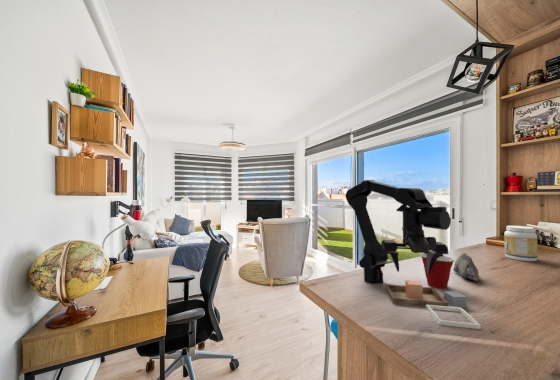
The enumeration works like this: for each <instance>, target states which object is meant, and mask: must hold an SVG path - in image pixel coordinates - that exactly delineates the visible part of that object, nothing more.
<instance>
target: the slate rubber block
mask: <svg viewBox="0 0 560 380" xmlns="http://www.w3.org/2000/svg"><path fill="white" fill-rule="evenodd" d="M443 298H444V299H445V300H446V301H447V302H448V303H449V306H450V307H461V308H467V307H468V306H467V296H466V295H464V294H462V293H461V292H459V291H456V290H451V291H449V290H447V291H446V290H445V291H443Z"/></svg>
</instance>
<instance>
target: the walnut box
mask: <svg viewBox="0 0 560 380" xmlns="http://www.w3.org/2000/svg"><path fill="white" fill-rule="evenodd" d="M384 286H385V287H384V288H385V291H386V293H387V295H388V297H389V299H390V300H391V302H392V304H393V305H405V306H406V305H407V306H414V307H415V306H418V307H425V308H426V304H428V305H439V306H450V305H449V303H448V302H447V301H446V300H445V299H444V296H442V295H441V294H440V293H439V292H438V291H437V290H436V288H433V287H431V286H428V287H426V286H423V300H421V299H410V298H408V297H407V296H406V292H405V284H404V285H401V284H392V283H391V284H390V283H384Z"/></svg>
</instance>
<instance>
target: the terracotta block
mask: <svg viewBox="0 0 560 380" xmlns="http://www.w3.org/2000/svg"><path fill="white" fill-rule="evenodd" d="M404 282H405V284H404V286H405V292H406V296H407V297H408V298H410V299H421V300H423V287H424V286H423V284H422V283H421V282H420V281H419V280H412V279H411V280H410V279H405V281H404Z"/></svg>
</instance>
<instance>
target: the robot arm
mask: <svg viewBox="0 0 560 380" xmlns="http://www.w3.org/2000/svg"><path fill="white" fill-rule="evenodd" d="M372 192H373V193H376V194H380V195H384V196H385V197H386V196H387V197H390V198H392V199H394V201H396V202H398V203H399V204H401V205H400V206H399V207H398V208H397V209H396V212H400V213H402V227H401V229H402V230H401V231H402V240H401V241H402V242H401V243H400V242H396V241H395V240H393V239H382V240H381V242H380V241H379V240H378V238H377V235H376V233H375V230H374V227H373V223H372V221H371V218H370V215H369V212H368V208H367V204H368V196H370V195H371V193H372ZM345 199H346V201H347V204H348V205H349V206H350V207H351V208H352V210H353V211H354V214H355V216H356V219H357V222H358V225H359V230H360V232H361V235H362V239H363V242H364V246H363V257H362V258H361V259H360V260H359V261H358V263H359V267H360V268H363V282H365V283H370V284H382V283H384V273H383V271H382V268H384V267H385V265H386V263H387V262H388V260H389V256H388V255H390V257H391V258H392V261H393V264H394V267H395V269H396V272H397V273H398V272H400V263H399V251H398V249H399V250H400V249H401V250H410V251H411V252H412V253H413V254H422V253H425V254H427V273H428V274H430V272H431V270H432V268H433V265H434V263H435V261H436V260H437V258H439V257H442V256H444V255H449V247H448V246H447V245H446V244H444V243H442V242H440V241H437V238H436V237H435V236H425V230H424V229H423V227H424V228H427V229H428V228H429V229H437V230H442V231H443V230H444V231H446V230H448V229H449V228H450V226H451V219H452V218H451V217H450V213H449V211H448V210H447V206H433V204H432V203H431V202H430V201H429V199H428V198H427V197H426V194H425V192H424V190H423V189H421V188H416V187H414V188H413V187H399V186H395V185H391V184H387V183H383V182H379V181H376V180H374V179H365V180H363V181H361V182H360V183H359V184H357V185H354V186H353V187H351V188H349V189H347V191H346V192H345Z"/></svg>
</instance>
